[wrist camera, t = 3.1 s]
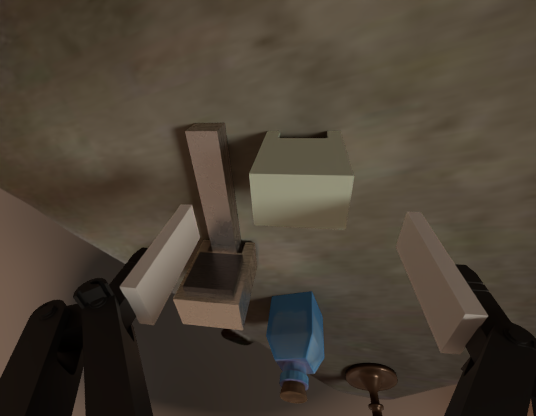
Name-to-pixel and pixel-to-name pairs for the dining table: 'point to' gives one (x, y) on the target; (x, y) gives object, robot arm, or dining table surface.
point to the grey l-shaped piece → (216, 240)
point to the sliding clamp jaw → (301, 182)
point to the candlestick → (372, 381)
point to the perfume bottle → (295, 341)
